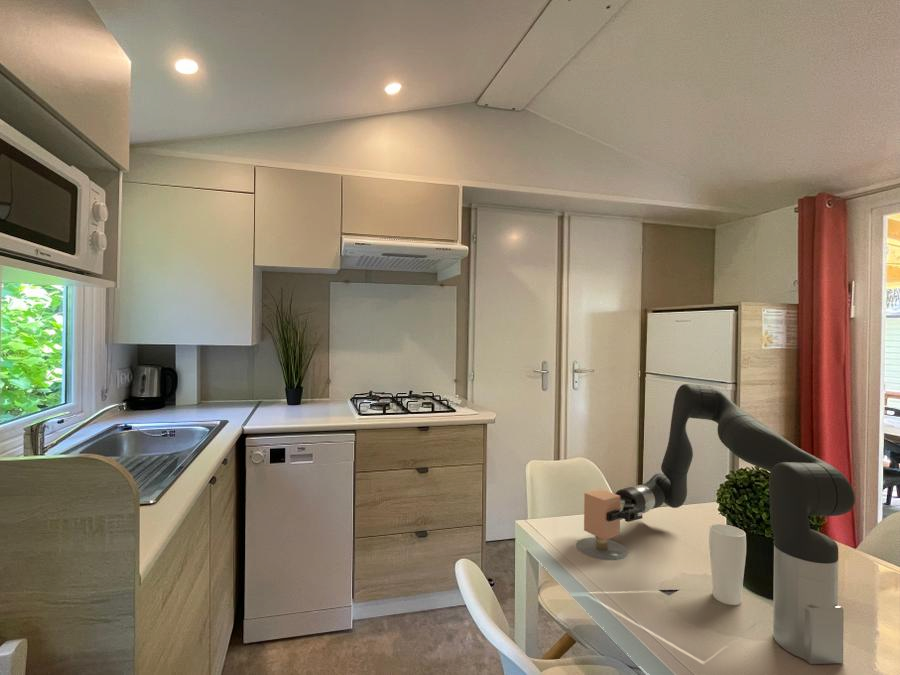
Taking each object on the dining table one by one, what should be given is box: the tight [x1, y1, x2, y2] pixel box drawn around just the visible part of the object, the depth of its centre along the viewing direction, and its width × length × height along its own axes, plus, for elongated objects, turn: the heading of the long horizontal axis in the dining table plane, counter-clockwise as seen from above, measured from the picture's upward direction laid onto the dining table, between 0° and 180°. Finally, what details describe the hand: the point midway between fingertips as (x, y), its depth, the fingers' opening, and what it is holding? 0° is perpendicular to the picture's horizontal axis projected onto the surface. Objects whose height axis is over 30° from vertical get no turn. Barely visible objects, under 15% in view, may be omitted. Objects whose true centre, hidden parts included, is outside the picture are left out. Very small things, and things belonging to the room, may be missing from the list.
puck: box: [595, 536, 609, 551], centre depth 118 cm, size 3×3×4 cm
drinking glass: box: [708, 523, 747, 606], centre depth 96 cm, size 7×7×15 cm
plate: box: [575, 537, 629, 561], centre depth 118 cm, size 13×13×1 cm
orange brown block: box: [583, 488, 621, 540], centre depth 118 cm, size 6×6×10 cm
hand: (596, 512), depth 117 cm, fingers closed on orange brown block, 6 cm apart
